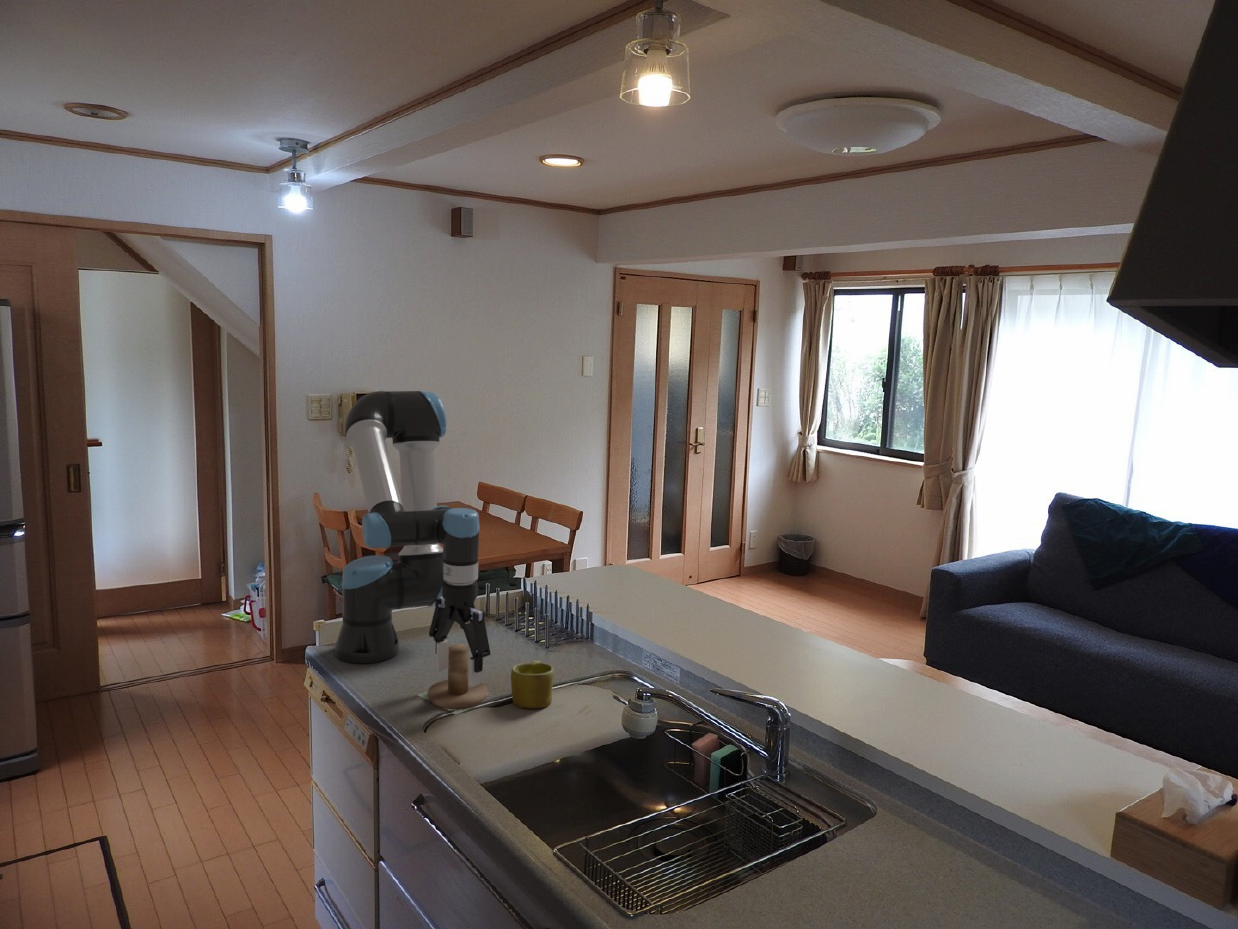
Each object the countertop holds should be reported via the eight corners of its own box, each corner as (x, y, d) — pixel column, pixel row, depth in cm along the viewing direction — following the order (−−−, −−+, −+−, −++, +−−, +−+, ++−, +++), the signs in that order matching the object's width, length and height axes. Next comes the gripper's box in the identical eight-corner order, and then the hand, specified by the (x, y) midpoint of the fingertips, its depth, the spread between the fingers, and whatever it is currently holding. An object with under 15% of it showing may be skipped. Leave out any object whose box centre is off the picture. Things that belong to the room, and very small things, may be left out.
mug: (552, 709, 185) (542, 663, 186) (508, 717, 188) (499, 671, 189) (569, 697, 197) (560, 653, 198) (528, 704, 200) (519, 661, 200)
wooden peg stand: (415, 695, 192) (416, 647, 190) (461, 678, 202) (462, 632, 200) (453, 715, 184) (454, 665, 182) (499, 696, 194) (501, 648, 192)
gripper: (413, 571, 192) (412, 666, 196) (482, 597, 178) (479, 698, 182) (440, 565, 198) (438, 657, 202) (509, 589, 184) (506, 688, 188)
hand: (458, 677), depth 192 cm, fingers open, 10 cm apart
